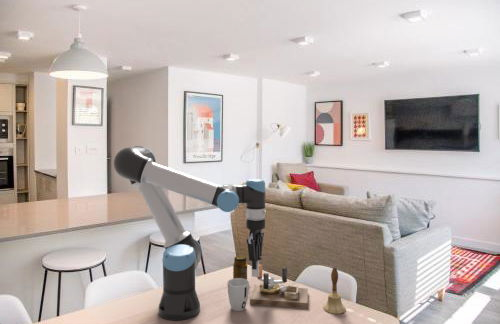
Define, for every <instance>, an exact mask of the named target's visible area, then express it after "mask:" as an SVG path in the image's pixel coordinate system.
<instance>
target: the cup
mask: <svg viewBox="0 0 500 324" xmlns="http://www.w3.org/2000/svg"><path fill="white" fill-rule="evenodd" d="M249 286H250V281H249V280H248V279H247V280H246V279H242V278H235V279H233V278H231V279H229V280H228V281H227V294H228V300H229V304H230V308H231V310H232V311H235V312H242V311H244V310H245V309H246V306H247V303H248V296H249V289H250V288H249Z"/></svg>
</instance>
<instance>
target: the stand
mask: <svg viewBox="0 0 500 324" xmlns="http://www.w3.org/2000/svg"><path fill="white" fill-rule="evenodd" d="M285 286H286V288H287V292H285V293H284V294H282V293H280V292H278V293H276V294H264V293H262V292H260V284H259V285H257V284H255V285H254V286H253V291H252V292H251V295H250V299H249V302H250V303H249V304H250V305H257V306H259V305H260V306H272V307H288V308H298V309H299V308H300V309H301V308H303V309H308V306H309V303H308V302H309V295H308V294H309V293H308V290H309V289H308V288H307V287H305V288H304V287H299V284H297V285H291V284H288V285H285Z"/></svg>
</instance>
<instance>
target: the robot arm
mask: <svg viewBox="0 0 500 324" xmlns="http://www.w3.org/2000/svg"><path fill="white" fill-rule="evenodd" d="M114 156H115V157H114V159H113V168H114V170H115V172H116V173H117V175H119V176H120V177H122V178H124V179H126V180H129V182H130V184H131V186H133V187H136V188H138V191H139V193H140V195H141V197H142V198H143V200H144V203H145V204H146V206H147V209H148V210H149V212H150V214H151V216H152V217H153V220H154V222H155V224H156V225H157V227H158V230H159V231H160V233H161V235H162V237H163V239H164V245H163V247H164V251H163V253H162V291H163V292H162V294H161V298H160V301H159V304H158V316H159V317H161V318H163V319H165V320H169V321H183V320H184V321H185V320H188V319H191V318H194V317H195V316H197V315H198V314H199V313H200V312H201V302H200V300H199V297H198V293H197V291H196V270H197V268H198V266H199V263H200V262H201V260H202V253H203V251H202V247H201V244H200V243H199V242H198V241H197V240H196V239H195V238H194V237H193V234H192V233H191V231H188V230H185V228H184V226H183V224H182V222H181V220H180V219H179V216H178V214H177V212H176V211H175V208H174V207H173V205H172V202H171V200H170V199H169V197H168V195H167V193H166V191H165V190H168V191H171V192H174V193H177V194H179V195H182V196H185V197H188V198H191V199H194V200H197V201H200V202H203V203H206V204H209V205H211V206H213V207H217V208H218V209H219V210H221V211H222V212H224V213H231V212H234V211H235V209H237V207H238V206H239V204H243V205H244V204H246V209H245V215H246V216H245V218H246V222H245V226H246V229H247V230H249V234H248V237H249V238H246V244H247V252H248V260H249V261H250V262H251V277H254V278H257V277H259V264H260V261H262V256H263V245H264V237H265V233H264V232H263V231H262V230H264V229H265V228H266V219H265V218H266V213H267V211H266V182H265V180H263V179H258V178H254V179H253V178H251V179H250V178H249V179H247V180H246V183H245V184H226V183H225V184H216V183H214V182H211V181H208V180H205V179H202V178H199V177H196V176H193V175H192V174H191V175H190V174H187V173H185V172H181V171H178V170H176V169H173V168H171V167H167V166H164V165H161V164H158V163H156V158H155V157H156V156H155V154H154V153H153V151H151V150H150V149H149V148H147V147H144V146H140V145H135V146H132V147H131V146H130V147H125V148H123V149H120V150H119V151H118V152H117V153H116V155H114Z"/></svg>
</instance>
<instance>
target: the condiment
mask: <svg viewBox="0 0 500 324" xmlns="http://www.w3.org/2000/svg"><path fill="white" fill-rule="evenodd" d="M233 259H234V261H233V262H234V263H233V266H232V268H233V272H232V275H233V276H232V277H233V278H232V279H235V278H242V279H246V280H248V263H247V257H246V256H243V255H236V256H235V257H234V258H233ZM250 288H251V286H250V285H249V289H250Z"/></svg>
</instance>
